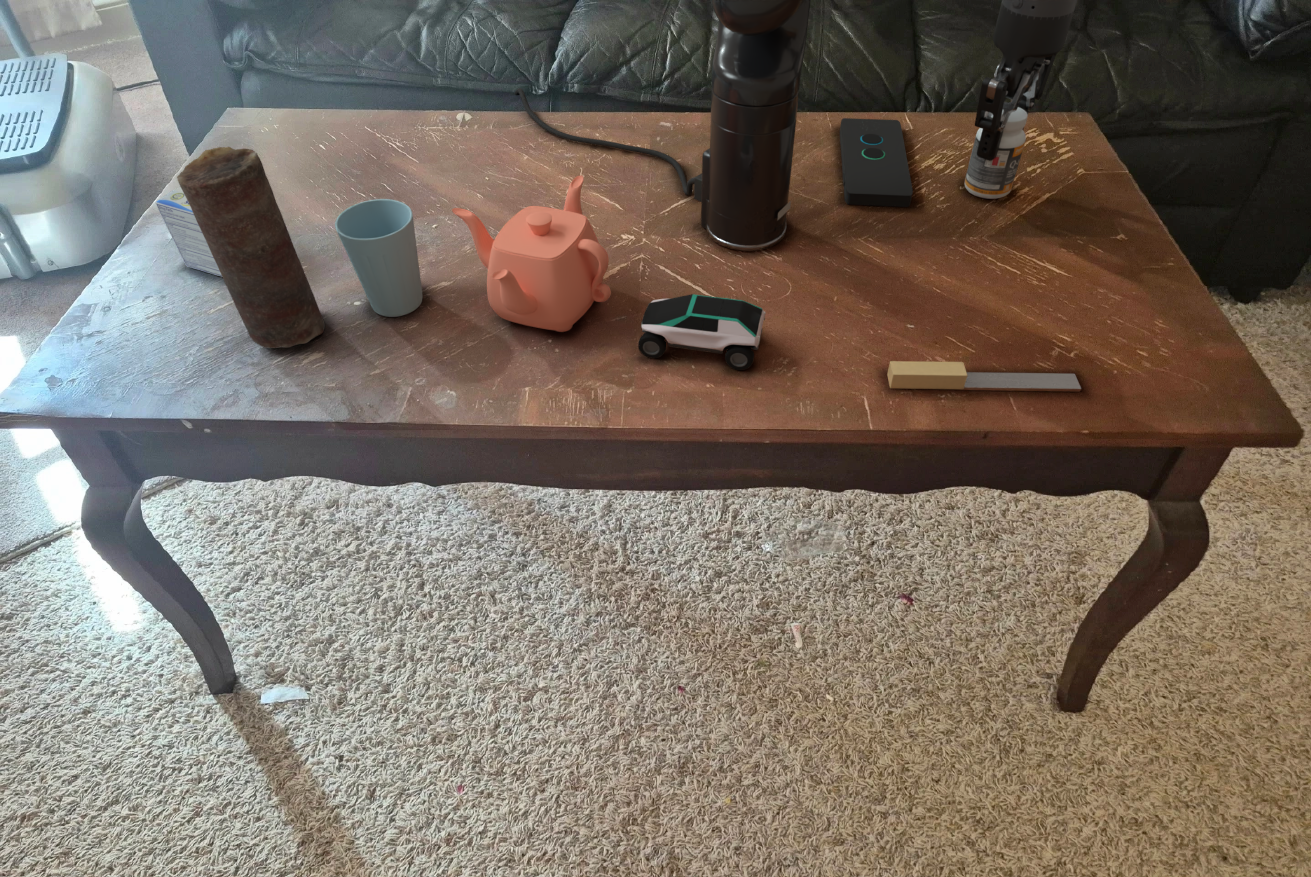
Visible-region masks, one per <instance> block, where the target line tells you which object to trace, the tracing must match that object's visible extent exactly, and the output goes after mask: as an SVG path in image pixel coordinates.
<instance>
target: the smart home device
mask: <svg viewBox="0 0 1311 877" xmlns="http://www.w3.org/2000/svg"><path fill="white" fill-rule="evenodd" d="M902 129H903V128H902V124H901V121H900V120H898V119H881V118H880V119H879V118H878V119H877V118H849V117H847V118H846V117H844V118H842V119H841V120H840V125H839V144H840V156H841V169H842V170H841V172H842V186H843V195H844V202H845V204H847V205H850V206H853V205H854V206H875V207H898V208H900V207H901V208H909V207H910V206H911V202H912V198H913V193H914V191H913V184H912V178H911V174H910V168H909V163H908V158H907V152H906V146H905V140H904V134H903V130H902Z"/></svg>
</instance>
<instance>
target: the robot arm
mask: <svg viewBox="0 0 1311 877" xmlns="http://www.w3.org/2000/svg"><path fill="white" fill-rule="evenodd" d="M811 1H812V0H710V2H711V7H712V9H713V12H714V13H715V15H716V18H717V20H718V24H717V32H716V33H717V34H716V41H715V47H714V53H713V56H712V63H711V80H710V81H711V83H710V84H711V85H710V86H711V88H710V90H711V91H710V126H709V127H710V131H709V147H708V148H707V149H706V150H704V151H703V153H702V156H701V157H702V158H701V159H702V160H701V173H699V174H698V175H696V176H695V177H691V178H689V179H688V180H687V178H686V174H685V172H684V170H683V168H682V166H681V165H680V163H679V162H678V161H677V160H676V159H675V158H673V156H670V155H669V154H667V153H664V152H661V151H658V150H655V149H651V148H647V147H641V146H635V145H629V144H624V143H619V142H614V141H609V140H603V139H597V138H590V137H584V136H577V135H573V134H569V133H566V132H563V131H560V130H558V129H556V128H553V127H551V126H550V125H549V124H547V123H546V122H544V121H543V120H542V119H541V118H539V116H538V115H537V114H536V113H535V112H534V111H533V110H532V109H531V107H530V104H529V102H528V100H527V97H526V96H527V95H526V94H525V92H524V90H523V89H522V88H520V87H519V88H517V89H516V90H515V91H514V95H515V96H519V97H520V100H521V103H522V105H523V108H524V110H525V112H526V114H527V115H528V116H529V117H530V118H531V119H532V120H533V121H534V123H536V124H537V125H538V126H539V127H540V128H542V130H545V131H546V132H548V133H550V134H551V135H553V136H556V137H559V138H561V139H563V140H568V141H571V142H576V143H581V144H588V145H595V146H602V147H606V148H612V149H617V150H622V151H626V152H632V153H639V154H643V155H647V156H654V157H656V158H658V159H661V160H664V161H665V162H667V163H669V164H670V165H672V166H673V167H674V169H675V170H676V172H677V174H678V177H679V180H680V182H681V186H682V190H683V193H684V195H686V196H691V195H692V194H693V199H694V200H695V201H698V202H699V203H700V204H701V206H700V227H702V228H704V229H705V230H706V232H707V235H708V237H709V238H710V239H711V240H712V241H714V242H715V243H717V244H718V245H720V246H721V247H724V248H727V249H730V250H736V251H746V252H751V251H752V252H753V251H761V250H765V249H768V248H771V247H774V246H775V245H777V244H779V243H780V242H781V241H782V240H783V239H784V237H785V236H786V233H787V215H788V211H789V210H790V209H791V205H792V204H791V203H792V201H791V200H790V201H789V196H790V186H791V177H792V166H793V158H794V156H793V155H794V148H795V137H796V126H797V117H798V116H797V115H798V106H799V96H800V87H801V77H802V70H803V64H804V60H805V59H804V58H805V52H806V45H807V36H808V28H809V18H810V9H811ZM1077 4H1078V0H1001V3H1000V7H999V10H998V14H997V19H996V22H995V27H994V31H993V35H992V42H993V45H994V46H995V47H996V48H997V49H998V50H1000V52H1001V53H1002V58H1001V60H1000V62H999V63H998V64H997V67H996V69H995V72H994V75H993V76H994V78H992V77H988V76H985V77H984V79H983V80H982V82H981V88H980V92H979V98H978V104H977V108H976V109H977V110H976V115H975V121H974V127H977V128H978V129H980V128H982V129H983V130H982V134H981V138H980V142H979V145H978V149H977V156H978V157H980V158H983V159H986V160H989V161H992V160H993V159H994V158H996V156H997V153H998V149H999V145H1000V142H1001V138H1002V135H1003V131H1004V128H1005V125H1006V123H1007V121H1008V118H1009V116H1010V114H1011V113H1012V112H1015V111H1016V110H1017V108H1018V107H1019V108H1022V109H1023V110H1025V111H1026V112H1027V114H1028V115H1029V112H1030V111H1031V110H1032V109H1033V108H1034V106H1035V102H1036V100H1037V101H1039V100H1040V99H1041V98H1042V97H1043V93H1044V90H1045V87H1046V84H1047V82H1048V79H1049V76H1050V74H1051V71H1052V67H1053V65H1054V63H1055V59H1056V58H1057V57H1056V56H1057V54H1058V53H1059V52H1061V51H1062V50H1063V48H1064V46H1065V43H1066V41H1067V40H1066V39H1067V36H1068V33H1069V30H1070V26H1071V23H1072V19H1073V16H1074V15H1075V14H1074V13H1075V10H1076V7H1077ZM1006 98H1007V99H1010V102H1007V101H1006ZM1002 111H1003V114H1002ZM992 114H993V118H992V117H991V116H992ZM1024 129H1025V127H1024V128H1023V129H1022V130H1023V131H1024ZM693 186H694V187H693ZM693 192H694V193H693Z"/></svg>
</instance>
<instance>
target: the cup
mask: <svg viewBox="0 0 1311 877" xmlns="http://www.w3.org/2000/svg"><path fill="white" fill-rule="evenodd" d="M413 213H414V212H413V210H412V208H411V207H410V206H409V205H407V204H406V203H405V202H402V201H400V200H397V199H391V198H390V199H389V198H377V199H369V200H365V201H361V202H358V203H356V204H353V205H351V206H349V207H347V208H345V209H344V210H343V211H342V212H341V213H340V214H339V215H338V216H337V217H336V219H335V222H334V228H335V231H336V233H337V235H338V237H339V239H340V242H341V244H342V246H343V247H344V250H345V252H346V254H347V257H348V258H349V261H350V263H351V265H352V267H353V269H354V272H355V274H356V276H357V278H358V280H359V283H360V285H361V287H362V290H363V291H364V294H365V295H366V298H367V300H368V302H369V304H370V306H371V309H372V310H373V311H374V313H376V314H378V315H380V316H383V317H389V318H397V317H402V316H406V315H408V314H410V313H412V312H414V311H416V310H417V309H418V308H419V307H420V306H421V304H422V302H423V287H422V279H421V271H420V262H419V254H418V247H417V246H418V245H417V238H416V230H415V223H414V222H415V221H414V214H413Z"/></svg>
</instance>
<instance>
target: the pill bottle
mask: <svg viewBox="0 0 1311 877" xmlns="http://www.w3.org/2000/svg"><path fill="white" fill-rule="evenodd" d="M1002 114H1003V111H1002ZM1028 116H1029V113H1028V114H1027V112H1026V111H1025V110H1023V109H1022V108H1019V107H1018V108H1017V110H1016V111H1015V112H1012V113H1011V114H1010V116H1009V118H1008V121H1007V123H1006V125H1005V128H1004V131H1003V135H1002V138H1001V142H1000V145H999V149H998V153H997V156H996V158H994V159H993V160H992V161H989V160H986V159H983V158H980V157H978V156H977V149H978V145H979V142H980V138H981V134H982V130H983V129H982V128H978V130H977V131H976V134H975V138H974V142H973V146H972V150H971V154H970V158H969V162H968V166H967V170H966V174H965V178H964V187H965V189H966V191H968V193H970V194H971V195H973V196H975V197H978V198H981V199H989V200H995V199H1002V198H1004V197H1006V196H1007V195H1009V194H1010V193H1011V191H1012V188H1013V186H1014V183H1015V179H1016V174H1017V172H1018V168H1019V165H1020V161H1021V158H1022V154H1023V151H1024V148H1025V144H1026V141H1027V140H1026V139H1027V136H1026V132H1025V131H1024V130H1022V129H1023V128H1024V129H1025V127H1026V124H1027V121H1028ZM991 117H992V118H993V114H992V116H991Z"/></svg>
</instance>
